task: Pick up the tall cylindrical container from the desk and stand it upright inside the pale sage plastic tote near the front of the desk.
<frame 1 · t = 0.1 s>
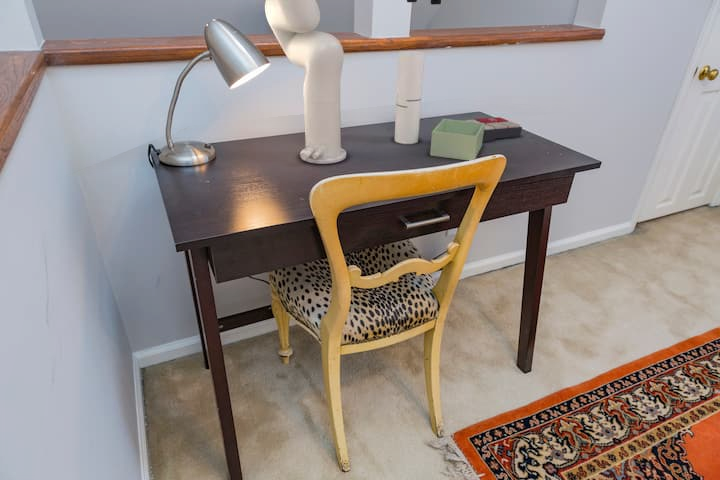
hand: (423, 3, 132), 37 cm above the table, tool pointing down, fingers open, 9 cm apart
tote: (456, 150, 139), on the table
cylindrical container: (406, 140, 147), on the table
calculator: (490, 135, 153), on the table
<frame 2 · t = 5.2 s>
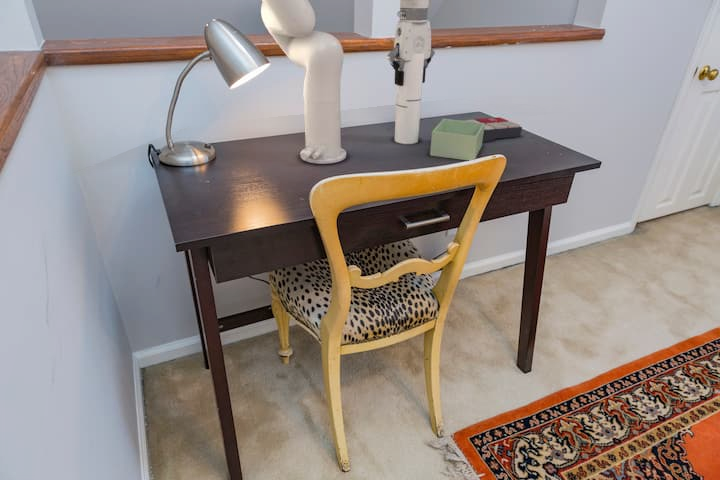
hand: (409, 83, 139), 17 cm above the table, tool pointing down, fingers closed on cylindrical container, 7 cm apart
cylindrical container: (406, 140, 147), on the table, touching gripper
everything else where it was.
when the fingers open (18 cm above the table, at t = 12.2 s): cylindrical container stays where it is, resting on tote.
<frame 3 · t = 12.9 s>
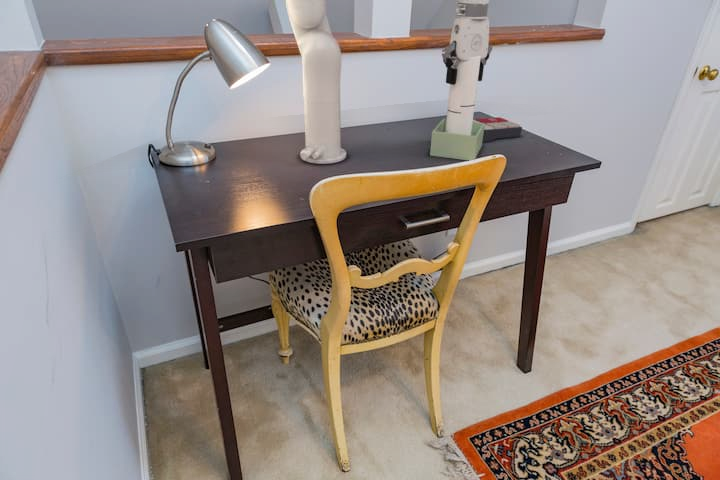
hand: (463, 82, 130), 19 cm above the table, tool pointing down, fingers open, 9 cm apart
cylindrical container: (456, 148, 139), point 1 cm above the table, touching tote
everything else where it was.
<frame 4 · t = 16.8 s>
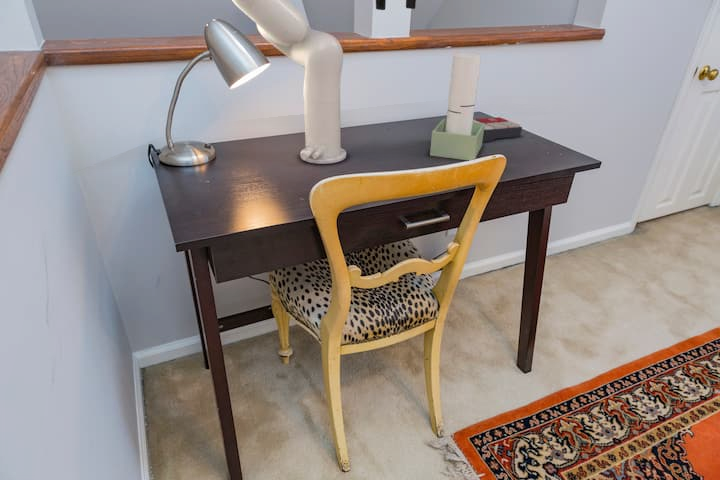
hand: (395, 9, 124), 36 cm above the table, tool pointing down, fingers open, 9 cm apart
nothing on the table moved.
at the end: cylindrical container inside the target area in the tote (0.1 cm from its centre), point 0.6 cm above the tote's base; cylindrical container tilted 0°; the gripper is holding nothing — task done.
